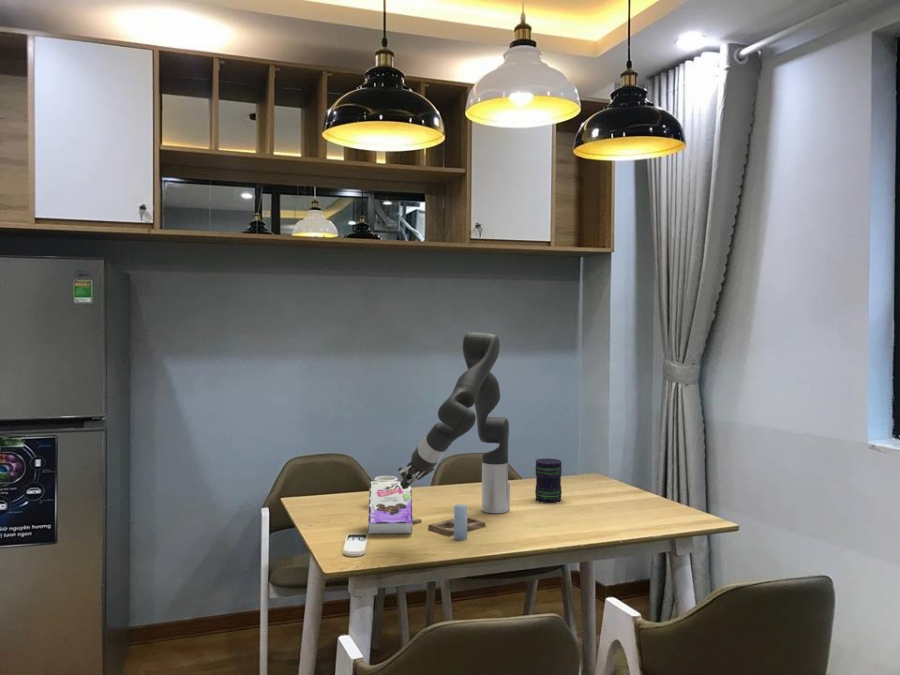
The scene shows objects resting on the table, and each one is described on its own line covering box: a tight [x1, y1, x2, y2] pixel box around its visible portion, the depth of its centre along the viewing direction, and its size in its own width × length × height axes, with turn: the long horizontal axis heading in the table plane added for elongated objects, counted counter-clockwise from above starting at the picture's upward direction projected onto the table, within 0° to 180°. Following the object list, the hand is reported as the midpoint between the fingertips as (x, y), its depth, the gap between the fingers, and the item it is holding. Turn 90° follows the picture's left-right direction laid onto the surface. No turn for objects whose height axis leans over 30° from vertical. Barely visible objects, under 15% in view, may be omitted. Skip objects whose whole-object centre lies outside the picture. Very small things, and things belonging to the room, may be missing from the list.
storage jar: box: [534, 458, 563, 504], centre depth 267 cm, size 10×10×15 cm
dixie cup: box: [374, 475, 398, 482], centre depth 259 cm, size 8×8×10 cm
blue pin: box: [453, 504, 468, 541], centre depth 218 cm, size 4×4×10 cm
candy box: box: [367, 480, 413, 535], centre depth 227 cm, size 14×6×16 cm
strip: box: [412, 516, 422, 526], centre depth 235 cm, size 7×4×8 cm, turn 133°
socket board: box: [427, 516, 486, 537], centre depth 230 cm, size 16×10×2 cm, turn 133°
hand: (403, 486), depth 216 cm, fingers closed
